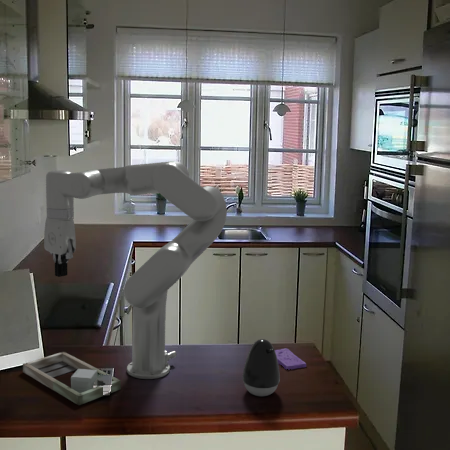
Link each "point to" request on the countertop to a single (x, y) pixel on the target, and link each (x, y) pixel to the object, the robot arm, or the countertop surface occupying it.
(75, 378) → the small box
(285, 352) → the sponges
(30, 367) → the rectangular open frame tray
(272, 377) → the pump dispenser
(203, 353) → the countertop surface
